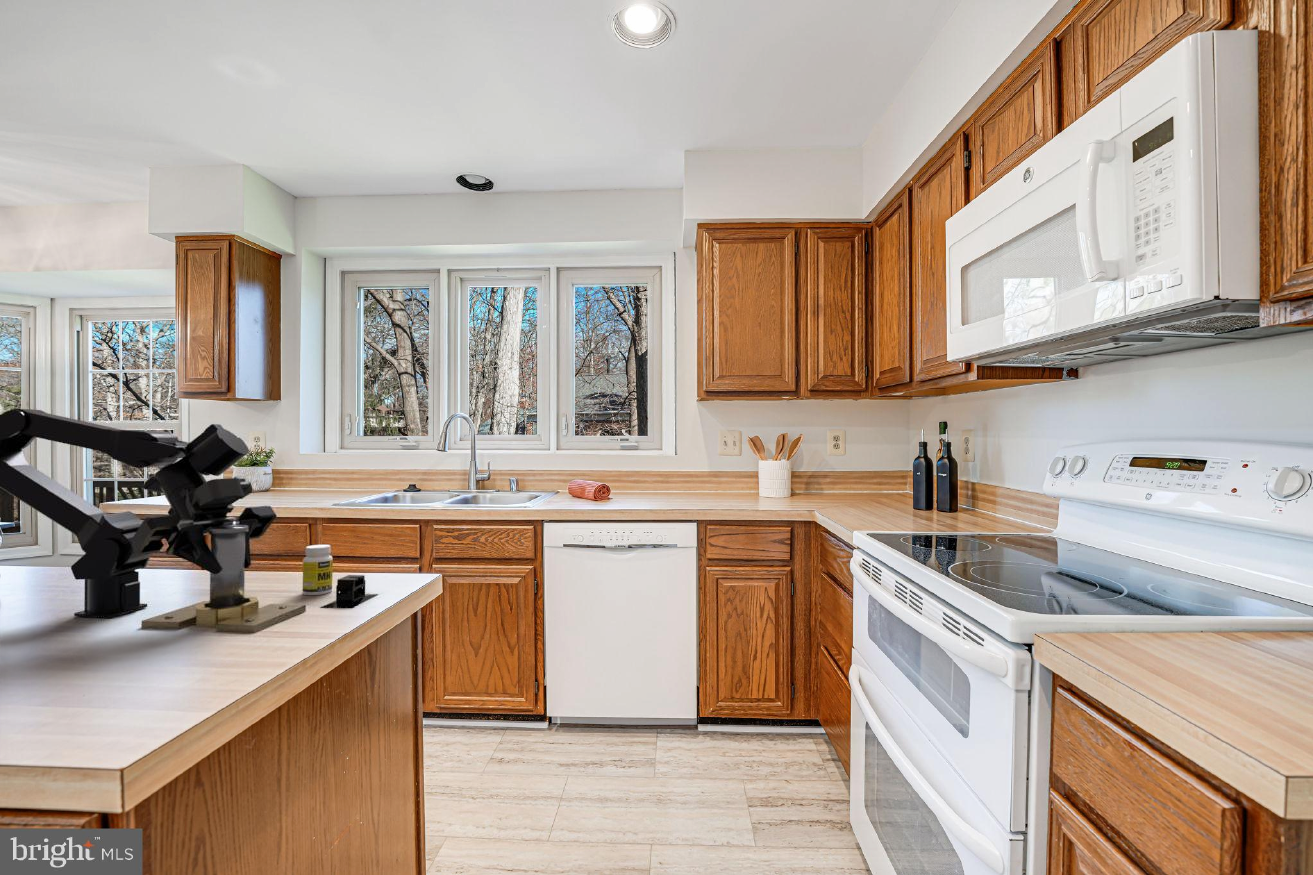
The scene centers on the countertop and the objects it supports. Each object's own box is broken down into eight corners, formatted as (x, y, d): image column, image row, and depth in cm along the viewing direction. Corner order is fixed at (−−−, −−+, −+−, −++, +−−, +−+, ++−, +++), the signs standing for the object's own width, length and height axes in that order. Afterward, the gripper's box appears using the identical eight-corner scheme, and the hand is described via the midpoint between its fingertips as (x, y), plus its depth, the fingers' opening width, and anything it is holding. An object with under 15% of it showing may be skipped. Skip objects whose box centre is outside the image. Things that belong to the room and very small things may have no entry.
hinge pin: (197, 615, 93) (198, 529, 93) (225, 605, 98) (226, 524, 98) (229, 616, 92) (230, 530, 92) (255, 607, 98) (256, 525, 98)
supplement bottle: (319, 596, 109) (319, 549, 109) (296, 595, 110) (296, 547, 110) (338, 590, 114) (338, 544, 114) (316, 588, 115) (316, 543, 115)
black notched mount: (351, 614, 100) (351, 586, 100) (307, 613, 100) (308, 585, 100) (388, 595, 113) (388, 570, 113) (348, 594, 113) (349, 569, 113)
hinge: (141, 627, 91) (141, 610, 91) (204, 607, 102) (204, 592, 102) (254, 632, 89) (254, 614, 89) (305, 611, 100) (305, 595, 100)
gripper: (143, 461, 88) (190, 544, 84) (270, 458, 105) (314, 527, 101) (111, 513, 91) (155, 596, 87) (239, 502, 109) (281, 570, 104)
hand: (233, 569), depth 95 cm, fingers closed on hinge pin, 4 cm apart
